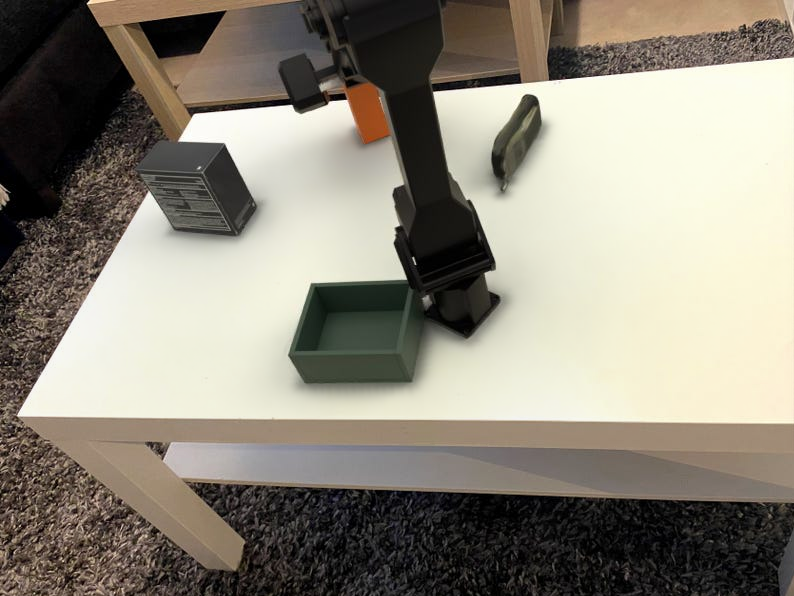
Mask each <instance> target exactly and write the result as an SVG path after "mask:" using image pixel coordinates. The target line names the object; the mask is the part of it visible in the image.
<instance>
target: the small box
mask: <svg viewBox="0 0 794 596" xmlns="http://www.w3.org/2000/svg"><path fill="white" fill-rule="evenodd" d="M134 171H135V173H136V175H138V176H139V178H140V179H141V181H142V182H143V184H144V185H145V187H146V188H147V190H148V191H149V193H150V195H151V196H152V197H153V199H154V200H155V202H156V204H157V205H158V206H159V208H160V210H161V212H162V213H163V215H164V216H165V217H166V219H167V221H168V222H169V224H170V226H171V227H172V229H173V230H174V231H176V232H177V231H178V232H191V233H203V234H216V235H227V236H238V235H239V234H240V233H241V231H242V229H243V228H244V226H245V224H246V223H247V221H249V219H250V217H251V216H252V214H253V213H254V211H255V210H256V208H257V206H258V204H257V203H256V201H255V199H254V197H253V195H252V193H251V191H250V189H249V188H248V185H247V184H246V181H245V180H244V178H243V176H242V174H241V172H240V170H239V168H238V166H237V164H236V162H235V161H234V158H233V157H232V155H231V153H230V151H229V149H228V148H227V145H226V143H225V142H206V141H201V142H200V141H178V140H176V141H175V140H158V141H157V142H156V143H155V144H154V145H153V147H152V148H151V149H150V150H149V151H148V153H146V154H145V156H144V157H143V158H142V159H141V160H140V161H139V163H138V164H137V165H136V167H134Z"/></svg>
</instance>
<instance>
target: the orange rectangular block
mask: <svg viewBox="0 0 794 596" xmlns="http://www.w3.org/2000/svg"><path fill="white" fill-rule="evenodd" d="M330 55H331V56H332V54H331V53H330ZM341 86H342V89H343V91H344V95H345V98H346V100H347V103H348V106H349V109H350V112H351V115H352V118H353V121H354V124H355V126H356V129H357V131H358V133H359V136H360V138H361V139H362V142H363V143H364V145H367V144H369V143H373V142H375V141H377V140H380V139H382V138H385V137H388V136H391V135H390V132H389V128H388V125H387V121H386V118H385V114H384V110H383V107H382V103H381V100H380V96H379V93H378V89H377V87H375V86H374V85H372V84H371V83H366V84H363V85H360V86H358V87H355V88H352V89H349V90H347V88H346V86H345V84H343V85H341Z"/></svg>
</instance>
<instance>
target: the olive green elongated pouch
mask: <svg viewBox="0 0 794 596" xmlns="http://www.w3.org/2000/svg"><path fill="white" fill-rule="evenodd" d="M542 120H543V119H542V112H541V104H540V101H539V97H537V96H536V95H534V94H532V93H531V94H530V93H525V94H524V95H523V96H522V97H521V98H520V102H519V103H518V105H517V107H516V109H514V111H513V112H512V115H511V116H510V118H509V119H508V121H507V122H506V123H505V124H504V125H503V127H502V129H500V131H498V133H497V135H496V137H495V138H494V141H493V146H492V149H491V153H490V162H491V167H492V172H493V175H494V177H495V178H496V179H499V180H501V182H502V183H501V185H500V187H499V190H500V192H505V191H506V189H507V187H508V184H509V182H510V180H511V178H512V176H513V174H514V173H515V172H516V170H517V169H518V167H519V166H520V165H521V163H522V162H523V160H524V158H525V157H526V155H527V152H528V151H529V149H530V148H531V146H532V145H533V143H534V141H535V139H536V137H537V136H538V134H539V132H540V130H541V127H542V122H543V121H542Z"/></svg>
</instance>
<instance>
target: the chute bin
mask: <svg viewBox="0 0 794 596" xmlns="http://www.w3.org/2000/svg"><path fill="white" fill-rule="evenodd" d="M302 307H303V308H302V310H301V313H300V317H299V319H298V323H297V326H296V329H295V332H294V335H293V339H292V341H291V345H290V348H289V351H288V354H287V356H288V358H289V361H290V362H291V363H292V365H293V367H294V368H295V370H296V372H297V373H298V375H299V376H300V378H301V380H302V381H303V383H304V384H333V383H335V384H337V383H340V384H341V383H345V384H346V383H412V382H413V378H414V373H415V368H416V362H417V358H418V352H419V347H420V343H421V337H422V331H423V326H424V320H425V315H424V312H425V310H426V309H427V308H426V305H425V302H424V298H422V297H421V295H420V294H418V292H417V290H413V289H410V286H409V284H408V281H407V279H387V280H386V279H385V280H384V279H383V280H358V281H357V280H355V281H333V282H331V281H330V282H311V283H310V284H309V289H308V292H307V295H306V297H305V301H304V305H303V306H302Z"/></svg>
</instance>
